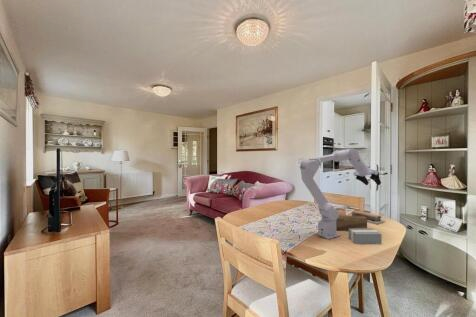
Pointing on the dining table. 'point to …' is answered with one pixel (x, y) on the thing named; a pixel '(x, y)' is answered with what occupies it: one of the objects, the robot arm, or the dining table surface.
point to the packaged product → (369, 217)
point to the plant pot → (341, 211)
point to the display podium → (351, 222)
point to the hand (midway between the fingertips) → (373, 184)
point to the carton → (365, 236)
